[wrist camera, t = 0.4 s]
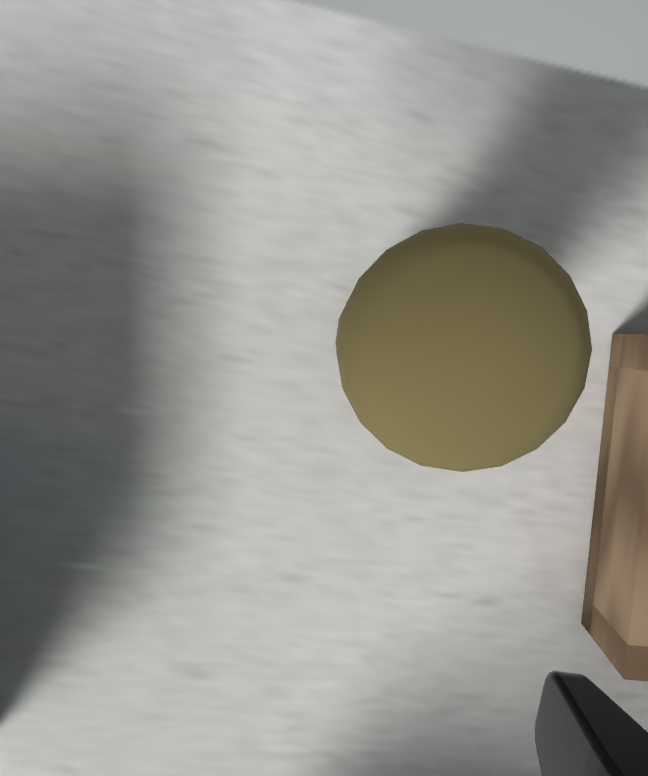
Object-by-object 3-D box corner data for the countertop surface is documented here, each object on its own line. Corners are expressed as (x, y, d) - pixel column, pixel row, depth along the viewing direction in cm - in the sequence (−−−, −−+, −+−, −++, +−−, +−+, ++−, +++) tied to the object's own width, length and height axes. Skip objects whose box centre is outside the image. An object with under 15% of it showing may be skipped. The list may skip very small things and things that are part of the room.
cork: (466, 238, 20) (590, 132, 10) (514, 391, 21) (685, 456, 10) (314, 292, 21) (266, 250, 10) (364, 440, 21) (369, 552, 11)
